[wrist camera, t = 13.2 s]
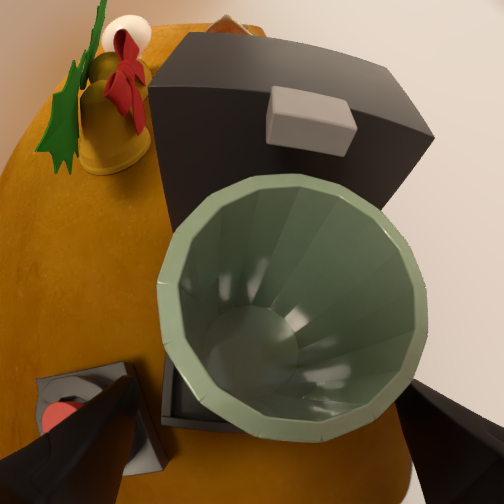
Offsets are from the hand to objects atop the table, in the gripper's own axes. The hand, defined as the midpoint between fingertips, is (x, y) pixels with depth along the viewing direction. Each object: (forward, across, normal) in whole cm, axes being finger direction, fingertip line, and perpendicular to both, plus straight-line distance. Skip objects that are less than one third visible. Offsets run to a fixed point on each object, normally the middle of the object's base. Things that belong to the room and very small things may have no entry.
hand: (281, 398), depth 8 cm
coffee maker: (+11, 0, +3) cm, 11 cm away
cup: (+8, 0, +4) cm, 9 cm away
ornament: (+21, +14, -8) cm, 26 cm away
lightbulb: (+30, +18, -17) cm, 39 cm away
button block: (+4, +9, +9) cm, 14 cm away
